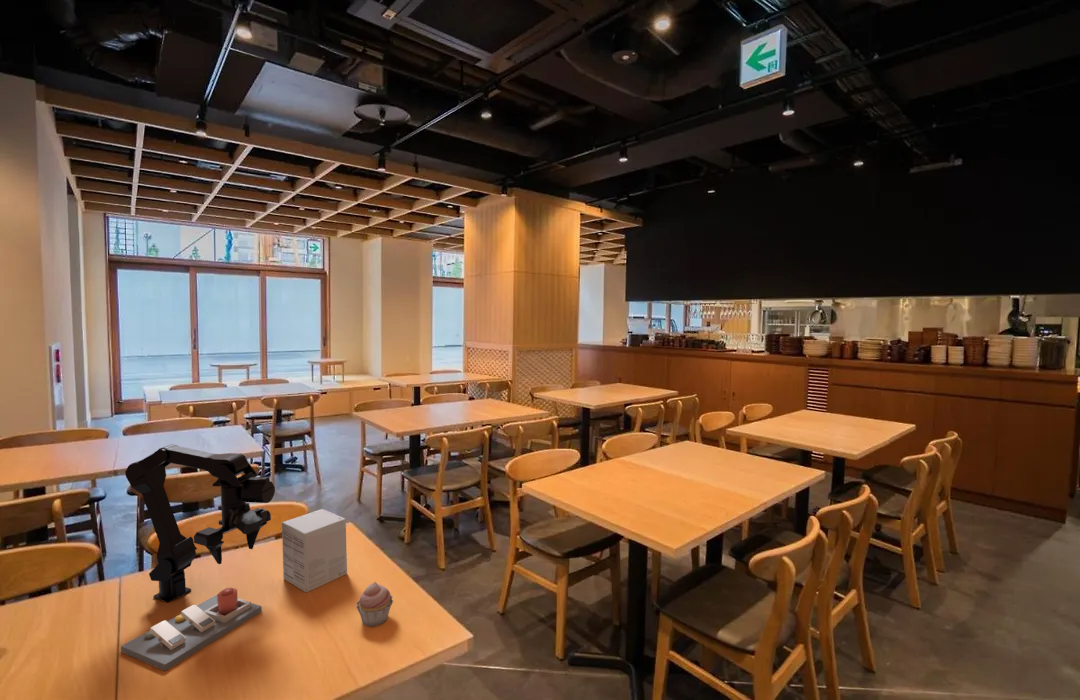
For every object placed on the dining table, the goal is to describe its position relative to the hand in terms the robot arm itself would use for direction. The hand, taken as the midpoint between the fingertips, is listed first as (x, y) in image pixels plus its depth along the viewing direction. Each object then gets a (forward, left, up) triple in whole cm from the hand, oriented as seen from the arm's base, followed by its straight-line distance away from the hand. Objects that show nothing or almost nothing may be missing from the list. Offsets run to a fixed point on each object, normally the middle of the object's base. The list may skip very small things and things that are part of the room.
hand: (235, 556), depth 138 cm
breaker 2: (+5, -14, -8) cm, 17 cm away
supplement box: (+11, +17, -12) cm, 24 cm away
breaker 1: (+5, -21, -8) cm, 23 cm away
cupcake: (+42, +7, -12) cm, 44 cm away
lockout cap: (+6, -7, -10) cm, 14 cm away
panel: (+4, -14, -12) cm, 19 cm away
